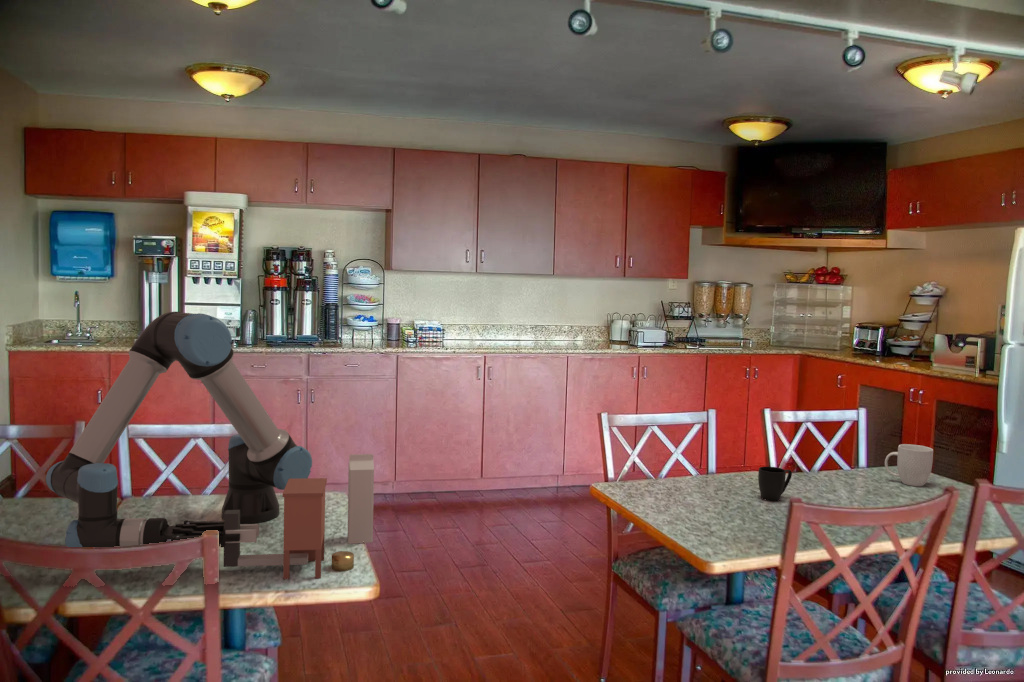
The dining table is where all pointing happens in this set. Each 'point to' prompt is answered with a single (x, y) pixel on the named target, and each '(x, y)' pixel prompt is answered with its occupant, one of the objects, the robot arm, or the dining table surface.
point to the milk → (360, 498)
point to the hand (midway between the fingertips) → (257, 533)
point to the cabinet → (304, 521)
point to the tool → (235, 559)
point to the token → (342, 561)
